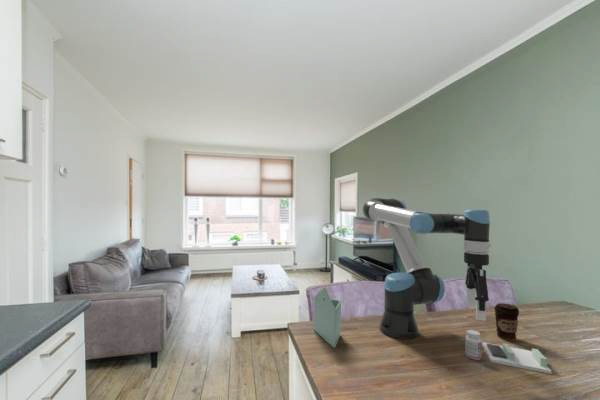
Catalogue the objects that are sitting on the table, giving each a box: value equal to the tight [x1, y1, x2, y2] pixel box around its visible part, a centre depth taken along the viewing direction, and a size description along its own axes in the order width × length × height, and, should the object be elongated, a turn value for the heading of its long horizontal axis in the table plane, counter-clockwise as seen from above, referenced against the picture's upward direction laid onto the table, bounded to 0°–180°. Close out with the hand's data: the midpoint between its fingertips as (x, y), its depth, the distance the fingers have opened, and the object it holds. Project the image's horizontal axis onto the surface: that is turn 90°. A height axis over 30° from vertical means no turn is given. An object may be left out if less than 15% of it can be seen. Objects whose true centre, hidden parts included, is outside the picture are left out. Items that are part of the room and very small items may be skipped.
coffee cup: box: [493, 302, 520, 342], centre depth 111 cm, size 9×8×13 cm
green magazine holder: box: [313, 286, 342, 349], centre depth 108 cm, size 16×8×20 cm, turn 24°
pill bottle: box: [464, 329, 482, 361], centre depth 96 cm, size 5×5×8 cm
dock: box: [481, 341, 552, 375], centre depth 95 cm, size 16×13×4 cm
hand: (475, 312), depth 97 cm, fingers open, 13 cm apart
